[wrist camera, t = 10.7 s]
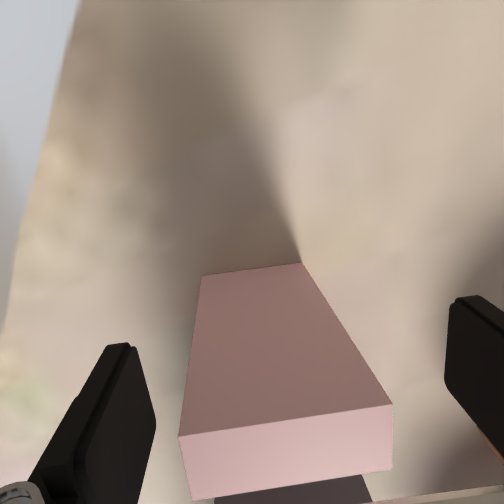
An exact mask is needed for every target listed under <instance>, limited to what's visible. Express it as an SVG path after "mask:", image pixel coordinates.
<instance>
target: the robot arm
mask: <svg viewBox="0 0 504 504" xmlns="http://www.w3.org/2000/svg"><path fill="white" fill-rule="evenodd" d="M444 380H445V384H446V387H447V389H448V390H449V392H450V393H451V394H452V395H453V397H454V398H455V399H456V400H457V401H458V403H459V404H460V405H461V406H462V408H463V409H464V410H465V411H466V412H467V414H468V415H469V416H470V417H471V419H472V420H473V421H474V422H475V424H476V425H477V426H478V427H479V428H480V430H481V431H482V432H483V433H484V435H485V436H486V437H487V438H488V440H489V441H490V442H491V443H492V444H493V446H494V447H495V448H496V449H497V451H498V452H499V453H500V454H501V455H502V457H503V458H504V312H503V311H501V310H500V309H499V308H497V307H496V306H494V305H493V304H491V303H490V302H488V301H487V300H486V299H484V298H483V297H481V296H479V295H475V296H467V297H460V298H457V299H456V300H455V302H454V303H452V304H451V305H450V308H449V321H448V334H447V347H446V360H445V373H444ZM155 430H156V418H155V414H154V410H153V406H152V403H151V399H150V395H149V392H148V388H147V384H146V381H145V377H144V373H143V370H142V366H141V362H140V359H139V355H138V351H137V348H136V347H135V346H133V347H131V346H130V344H129V343H127V342H125V343H118V344H111V345H107V346H106V347H105V349H104V351H103V353H102V354H101V356H100V358H99V360H98V362H97V363H96V365H95V367H94V369H93V370H92V372H91V374H90V376H89V377H88V379H87V381H86V383H85V385H84V386H83V388H82V390H81V392H80V393H79V395H78V396H77V397H76V398H75V399H74V400H73V402H72V404H71V405H70V407H69V409H68V411H67V412H66V414H65V416H64V418H63V419H62V421H61V423H60V425H59V426H58V428H57V430H56V432H55V433H54V435H53V437H52V439H51V440H50V442H49V444H48V446H47V447H46V449H45V451H44V453H43V454H42V456H41V458H40V460H39V461H38V463H37V465H36V467H35V468H34V470H33V472H32V474H31V475H30V477H29V479H28V481H23V482H15V483H12V484H9V485H5V486H4V487H2V488H0V504H137V503H138V499H139V495H140V491H141V487H142V483H143V479H144V475H145V471H146V467H147V463H148V459H149V455H150V451H151V447H152V443H153V439H154V435H155ZM363 504H504V484H502V485H495V486H487V487H480V488H472V489H465V490H457V491H450V492H442V493H435V494H427V495H420V496H413V497H406V498H399V499H391V500H384V501H377V502H370V503H363Z"/></svg>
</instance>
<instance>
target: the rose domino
mask: <svg viewBox="0 0 504 504" xmlns="http://www.w3.org/2000/svg"><path fill="white" fill-rule="evenodd" d="M178 439H179V443H180V448H181V452H182V457H183V461H184V466H185V470H186V474H187V479H188V483H189V488H190V492H191V497H192V501H196V500H203V499H209V498H215V497H221V496H228V495H234V494H240V493H246V492H253V491H259V490H265V489H271V488H278V487H284V486H290V485H297V484H303V483H309V482H315V481H322V480H328V479H334V478H340V477H347V476H353V475H359V474H365V473H372V472H378V471H384V470H390V469H392V439H393V404H392V402H391V400H390V399H389V397H388V396H387V394H386V393H385V391H384V389H383V388H382V386H381V385H380V383H379V382H378V380H377V379H376V377H375V375H374V374H373V372H372V371H371V369H370V368H369V366H368V365H367V363H366V361H365V360H364V358H363V357H362V355H361V354H360V352H359V350H358V349H357V347H356V346H355V344H354V343H353V341H352V340H351V338H350V336H349V335H348V333H347V332H346V330H345V329H344V327H343V326H342V324H341V322H340V321H339V319H338V318H337V316H336V315H335V313H334V311H333V310H332V308H331V307H330V305H329V304H328V302H327V301H326V299H325V297H324V296H323V294H322V293H321V291H320V290H319V288H318V286H317V285H316V283H315V282H314V280H313V279H312V277H311V276H310V274H309V272H308V271H307V269H306V268H305V266H304V265H303V263H302V262H301V263H294V264H286V265H279V266H271V267H264V268H257V269H249V270H242V271H234V272H227V273H220V274H212V275H205V276H202V279H201V286H200V292H199V299H198V306H197V313H196V319H195V326H194V333H193V340H192V346H191V353H190V360H189V366H188V373H187V380H186V387H185V393H184V400H183V407H182V413H181V420H180V427H179V434H178Z"/></svg>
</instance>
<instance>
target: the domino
mask: <svg viewBox="0 0 504 504" xmlns="http://www.w3.org/2000/svg"><path fill="white" fill-rule="evenodd" d="M370 502H373V501H372V499H371V496H370V494H369V492H368V489H367V487H366V484H365V482H364V479H363V477H362V475H361V474H359V475H353V476H347V477H340V478H334V479H328V480H322V481H315V482H309V483H303V484H297V485H290V486H284V487H278V488H271V489H265V490H259V491H253V492H246V493H240V494H234V495H228V496H221V497H215V504H363V503H370Z"/></svg>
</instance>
